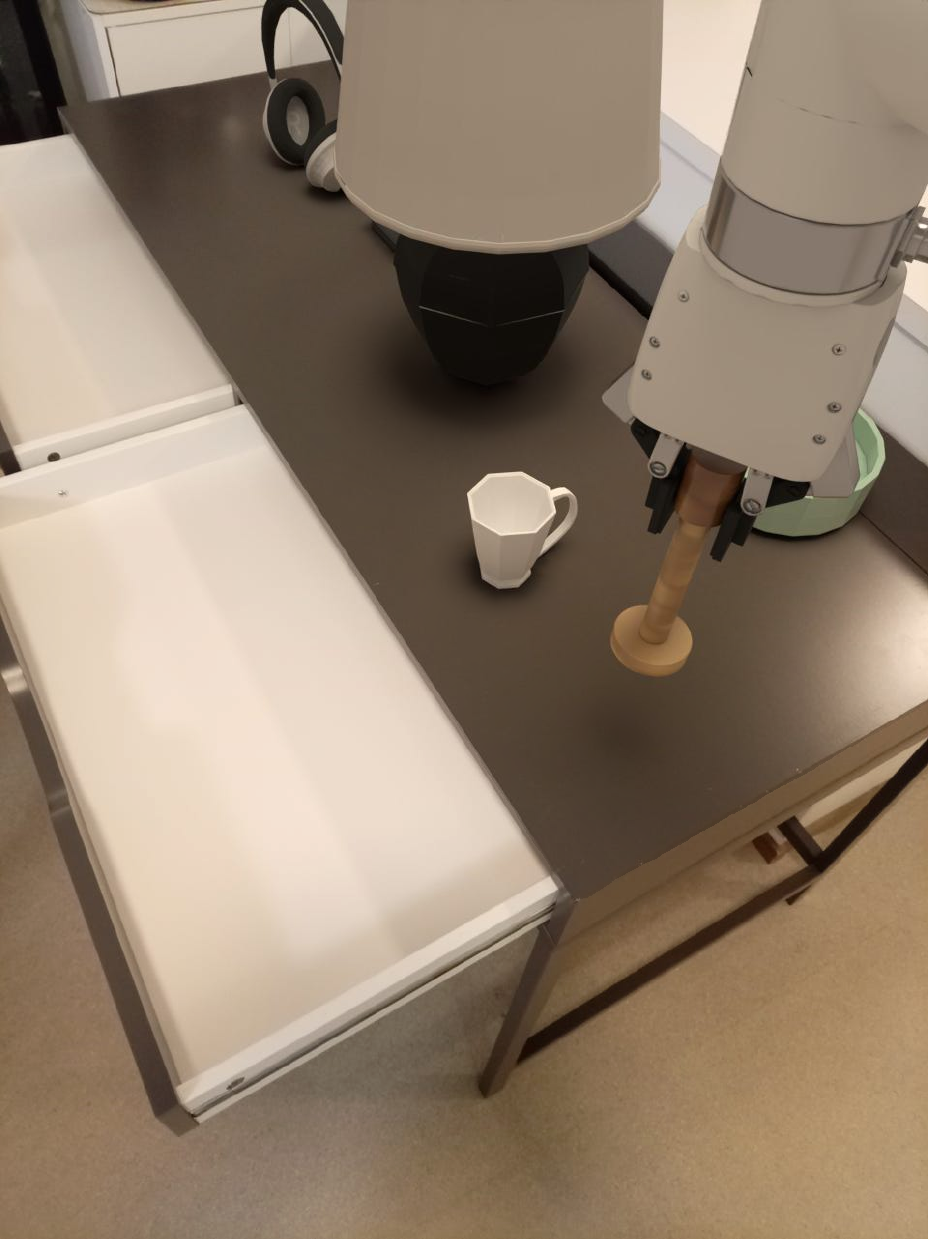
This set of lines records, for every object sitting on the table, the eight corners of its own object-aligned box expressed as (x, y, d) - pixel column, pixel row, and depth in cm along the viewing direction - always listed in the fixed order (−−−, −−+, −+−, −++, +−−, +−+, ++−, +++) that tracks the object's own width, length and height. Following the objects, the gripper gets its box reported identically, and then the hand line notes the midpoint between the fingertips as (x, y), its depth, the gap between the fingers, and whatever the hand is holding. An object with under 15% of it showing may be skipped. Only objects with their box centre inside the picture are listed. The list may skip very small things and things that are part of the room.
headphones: (252, 152, 114) (222, -31, 98) (308, 134, 117) (288, -46, 101) (334, 219, 106) (316, 29, 89) (392, 197, 109) (385, 10, 93)
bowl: (879, 460, 84) (903, 414, 79) (833, 567, 76) (858, 523, 71) (725, 403, 88) (741, 357, 83) (667, 499, 80) (680, 454, 75)
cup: (447, 556, 75) (448, 488, 69) (546, 514, 78) (557, 446, 72) (490, 614, 72) (495, 549, 65) (592, 568, 75) (607, 502, 68)
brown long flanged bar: (699, 639, 58) (782, 451, 46) (669, 689, 55) (749, 501, 43) (629, 605, 59) (693, 415, 48) (596, 652, 56) (656, 461, 45)
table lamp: (485, 260, 101) (508, -212, 69) (673, 372, 90) (805, -127, 58) (296, 361, 90) (218, -148, 58) (486, 504, 79) (521, -27, 47)
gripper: (1035, 237, 35) (854, 545, 50) (649, 125, 39) (589, 438, 54) (999, 338, 31) (814, 640, 46) (575, 201, 35) (532, 516, 50)
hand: (693, 528), depth 50 cm, fingers closed on brown long flanged bar, 3 cm apart
